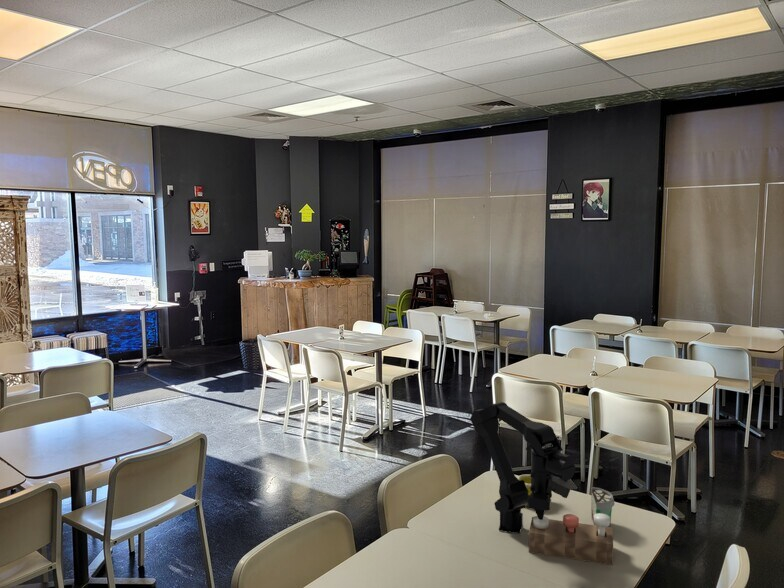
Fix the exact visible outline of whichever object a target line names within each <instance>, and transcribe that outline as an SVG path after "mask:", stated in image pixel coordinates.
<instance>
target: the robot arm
mask: <svg viewBox="0 0 784 588" xmlns="http://www.w3.org/2000/svg"><path fill="white" fill-rule="evenodd" d="M499 420H501V421H502V422H504V423H505V424H506V425H508V426H510V427H511V428H513V429H514V430H516V431H517V432H519V434H521V435H522V436H523V438H524V440H525V442H526V443H527V444H529V445H528V446H527V447H525V450H526V451H528V452H530V453H531V455H530V456H531V461H530V462H531V463H530V464H531V465H530V467H531V468H530V469H531V470H530V474H531V476H530V477H531V487H530V491H532V492H531V494H530V495H528V492H529V491H528V490H527V488H526V485H525V482H524V481H523V480H519V479H518V478H517V477H516V474H515V472H514V471H513V470H514V469H513V468H512V465H511V463H510V460H509V458H508V455H507V453H506V449H505V448H504V445H503V442H502V439H501V437H500V435H499V427H500V421H499ZM470 422H471V425H472V426H473V428H474V430H475V432H476V433H477V434H478V435H480V437H482V438H483V440H484V442H485V443H484V444H485V446H486V448H487V451H488V454H489V456H490V458H491V461H492V463H493V468H494V469H495V472H496V475H497V477H498V479H499V486H498V487H499V489H498V494H499V497H500V498H499V499H497V500H496V501H495V502H494V508H495V510H496V511H497V512H499V527H498V531H499V532H507V533H514V534H520V533H521V530H522V529H523V526H524V525H523V524H524V513H523V512H522V510H523V509H525V508H526V507H527V508H528V509H532V510H534V512H535V514H536V516H538V518H539V519H540V520H543V516H544V515H545V511H547V512H548V511H550V510H551V504H552V496H553V494H552V492H553V493H554V494H557V495H558V496H561V497H562V498H564V499H567V498H569V495H570V492H571V490H572V483H571V481H570V480H571V479H572V478H573V477H574V476H575V473H576V465H575V462H574V461H573V460H572V459H571V455H569V454H565V453H562V451H563V448H562V445H561V443H560V442H559V439H558V437H557V435H556V433H555V430H554V429H553V428H552V426H550V425H549V424H546V423H543V422H538V421H533V420H531V419H530V418H528V417H526V416H525V415H523V414H522V413H520V412H519V411H518V410H517V411H516V410H515V409H513V408H512V407H511V406H509V405H508V404H507V403H506V402H504V401H499V402H496V403H492V404H490V405H489V406H488V407H485V408H480V409H476V410H474V411H472V413H471V415H470ZM547 446H548V447H547ZM526 504H527V506H526Z"/></svg>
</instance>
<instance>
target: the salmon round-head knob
mask: <svg viewBox="0 0 784 588" xmlns="http://www.w3.org/2000/svg"><path fill="white" fill-rule="evenodd" d="M562 521H563V525H564V526H566V527H568V532H572V533H574V528H576V527H578V526H579V523H580V522H579V521H580V518H579V516H577V515H575V514H571V513H567V514H564V515H563V516H562Z"/></svg>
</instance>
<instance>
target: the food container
mask: <svg viewBox="0 0 784 588" xmlns="http://www.w3.org/2000/svg"><path fill="white" fill-rule="evenodd" d="M590 494H591V521H592V525H595V524H594V515H595V514H597V513H601V514H606V515H608V516H609V517H610V523H611V521H612V511H613V507H614V506H615V498H614V496H613V494H612V493H611V492H610V491H608V490H605V489H603V488H601V487H594V486H592V487H591V490H590ZM609 527H611V525H610V526H609Z"/></svg>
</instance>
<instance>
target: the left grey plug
mask: <svg viewBox="0 0 784 588" xmlns="http://www.w3.org/2000/svg"><path fill="white" fill-rule="evenodd" d="M533 517H534V518H533V526H534V527H536V528H538V529H547V528H548V527H549V519H550V518H549V517H547V516H546V515H545V516H543V520H540V519H539V518H538V516H537V515H535V516H533Z"/></svg>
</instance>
